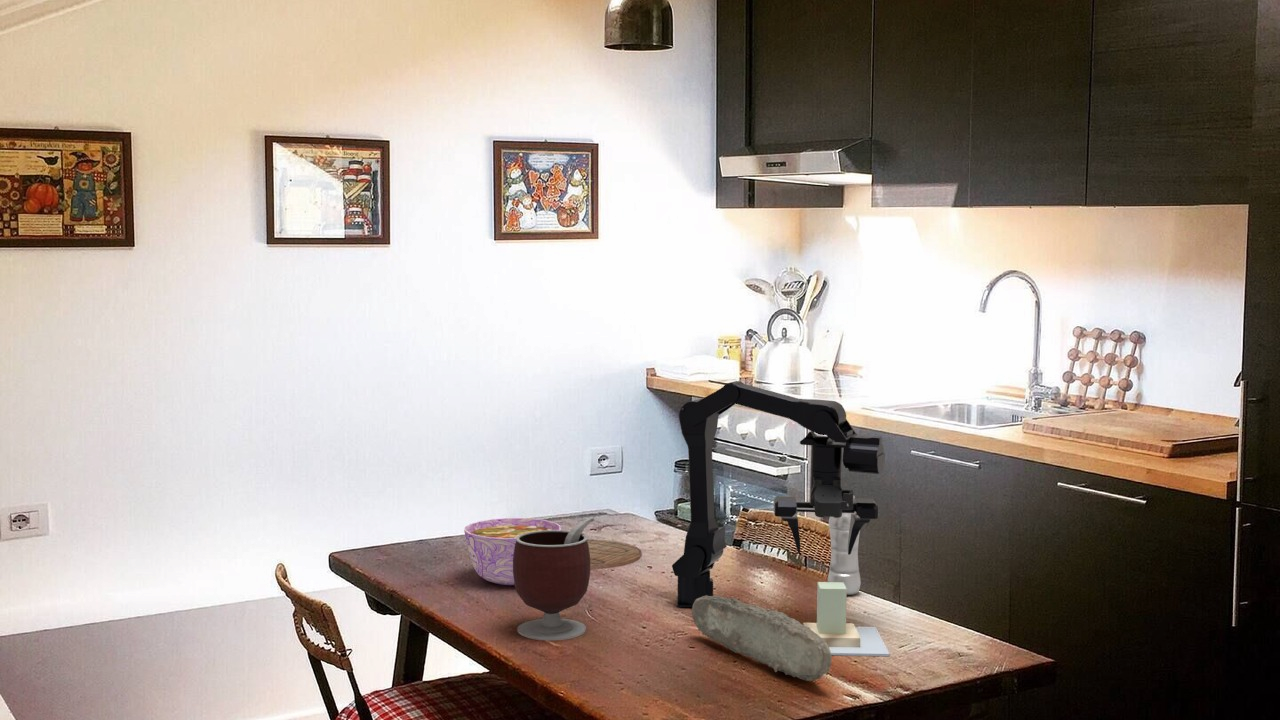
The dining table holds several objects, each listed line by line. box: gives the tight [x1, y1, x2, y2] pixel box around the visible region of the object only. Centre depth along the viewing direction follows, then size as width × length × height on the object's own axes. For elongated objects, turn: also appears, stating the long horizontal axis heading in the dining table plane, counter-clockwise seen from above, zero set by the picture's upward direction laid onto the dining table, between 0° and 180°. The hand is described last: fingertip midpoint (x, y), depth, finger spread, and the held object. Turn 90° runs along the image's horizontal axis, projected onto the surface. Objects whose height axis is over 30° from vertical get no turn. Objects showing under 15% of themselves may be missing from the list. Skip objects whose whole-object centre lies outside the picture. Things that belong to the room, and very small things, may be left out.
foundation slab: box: [802, 622, 860, 647], centre depth 228 cm, size 9×9×2 cm
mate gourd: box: [513, 516, 595, 641], centre depth 233 cm, size 16×14×20 cm
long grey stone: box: [691, 595, 832, 682], centre depth 215 cm, size 35×5×10 cm, turn 35°
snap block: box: [816, 581, 848, 634], centre depth 228 cm, size 5×5×8 cm
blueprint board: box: [829, 626, 891, 657], centre depth 228 cm, size 18×16×1 cm
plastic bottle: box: [827, 494, 862, 596], centre depth 259 cm, size 6×7×20 cm
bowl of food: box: [463, 517, 562, 586], centre depth 267 cm, size 20×20×12 cm
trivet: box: [587, 539, 643, 570], centre depth 289 cm, size 25×25×2 cm
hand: (823, 553), depth 240 cm, fingers open, 9 cm apart
